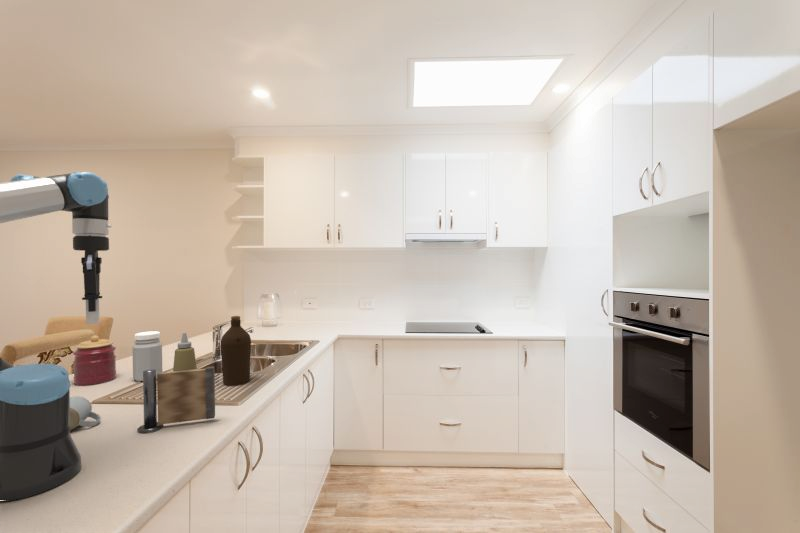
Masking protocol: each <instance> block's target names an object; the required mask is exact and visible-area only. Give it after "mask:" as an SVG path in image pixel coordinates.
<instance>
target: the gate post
mask: <svg viewBox="0 0 800 533" xmlns="http://www.w3.org/2000/svg"><path fill="white" fill-rule="evenodd" d="M142 389H143V393H142V394H143V396H142V397H143V398H142V399H143V424H142V425H140V426H139V427H138V428H136V429H137V433H139V434H149V433H153V432H157V431H159V430H161V429H163V428H164V424H161V425H158V394H157V379H156V369H148V370H144V371H143V382H142Z"/></svg>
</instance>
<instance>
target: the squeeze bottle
mask: <svg viewBox="0 0 800 533" xmlns="http://www.w3.org/2000/svg"><path fill="white" fill-rule="evenodd" d="M173 358H174V359H173V368H172V371H184V370H195V369H198V368H197V361H196V354H195V348H194V347H192V342H191V341H189V339H188V335H187V332H186V333H182V335H181V339H180V342H178V343H177V348H176V349H175V350H174V357H173Z"/></svg>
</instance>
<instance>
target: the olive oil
mask: <svg viewBox="0 0 800 533" xmlns="http://www.w3.org/2000/svg"><path fill="white" fill-rule="evenodd" d="M230 318H231V320H230V327H229V328H228V329H227V331H226V332H224V334H223V336H222V337H221V339H220V353H221V356H220V357H221V372H222V384H223V385H224V386H227V387H230V386H231V387H232V386H233V387H234V386H240V385H244V384H247V383H249V382H250V381H251V380H250V379H251V353H252V351H251V350H252V349H251V348H252V339H251V336H250V334H249V333H248V332H247V330H245V328H243V327H242V326H241V321H242V320H241V316H240V315H233V316H231V317H230Z"/></svg>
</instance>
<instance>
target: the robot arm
mask: <svg viewBox="0 0 800 533" xmlns="http://www.w3.org/2000/svg"><path fill="white" fill-rule="evenodd" d="M109 198H110V197H109V188H108V183H107V182H106V180H104V179H102V178H101V177H100V176H98V175H97V174H96V173H93V172H91V171H90V172H89V171H76V172H71V173H65V174H64V173H63V174H56V175H51V176H42V177H41V176H35V175H33V174H31V175H27V174H16V175H14V176H13V177H12V178H11V179H10V180H9V181H6V182H5V181H4V182H0V224H3V223H4V224H5V223H9V222H14V221H17V220H22V219H28V218H33V217H37V216H42V215H45V214H50V213H54V212H60V211H62V212H68V213H69V212H71V214H72V219H71V223H72V224H71V226H72V228H71V229H72V234H73V235H74V236H73V237H72V249H73V250H74V251H84V256H83V257H81V260H80V262H81V265H82V274H83V288H84V296H83V297H81V300H82V301H85V325H93V324H96V325H97V324H100V319H101V318H100V299H103V295H101V292H100V277H101V276H100V275H101V266H102V262H103V260H102V257H99V251H100V252H106V251H108V250H110V238H109V237H107V236H108V235H109V229H108V228H110V229H111V228H112V224H109ZM70 389H71V381H70V377H69V372H68V370H67V369H66V368H65V367H63V366H62V365H58V364H55V363H43V364H42V363H29V364H21V365H17V366H14V365H12V364H11V363H10V362H8V361H6V359H4V358H2V357H0V500H6V501H5V502H8V501H7V500H11V501H16V499H17V500H21V499H24V498H28V497H32V496H35V495H39V494H41V493H44V492H46V491H49V490H51V489H54V488H57V487H58V486H60V485H62V484H64V483H66V482H67V481H69V480H70V479H72V478H73V477H75V476H76V475H77V474H78V473H79V472H80V471H81V469H82V457H81V453H80V451H79V450H78V448H77V445H76V443H75V442H74V439H73V438H72V435H71V430H70V397H71V396H70V395H71V394H70Z"/></svg>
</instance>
